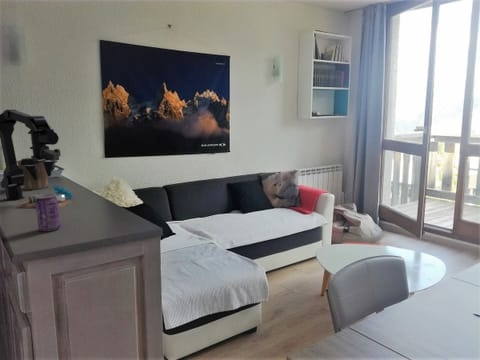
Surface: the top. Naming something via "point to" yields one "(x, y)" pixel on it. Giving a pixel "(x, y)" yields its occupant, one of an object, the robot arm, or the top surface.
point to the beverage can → (47, 212)
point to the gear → (62, 191)
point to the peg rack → (33, 205)
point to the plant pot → (41, 177)
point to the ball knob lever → (59, 196)
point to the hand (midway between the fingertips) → (42, 178)
